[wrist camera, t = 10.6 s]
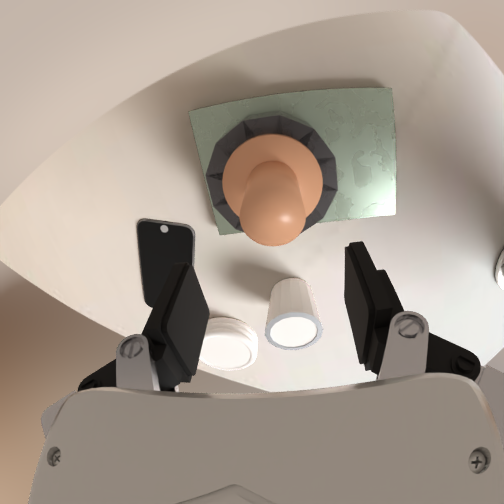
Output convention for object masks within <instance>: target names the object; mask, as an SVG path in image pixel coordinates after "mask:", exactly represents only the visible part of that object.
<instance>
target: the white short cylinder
mask: <svg viewBox="0 0 504 504" xmlns="http://www.w3.org/2000/svg"><path fill="white" fill-rule="evenodd" d="M257 349H258V338H257V335H256V333H255V331H254V330H253V329H252V328H251V327H250V326H249V325H247V324H246V323H244V322H242V321H239V320H236V319H233V318H226V317H217V318H211V319H208V323H207V327H206V332H205V336H204V340H203V344H202V348H201V353H200V357H199V360H200V361H202V362H203V363H204V364H206V365H208V366H210V367H213V368H216V369H220V370H239V369H243V368H245V367H248V366H249V365H251V364H252V363H253V362H254V361H255V359H256V357H257Z"/></svg>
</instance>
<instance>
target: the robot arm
mask: <svg viewBox="0 0 504 504" xmlns="http://www.w3.org/2000/svg"><path fill="white" fill-rule="evenodd" d="M495 278H496V282H497V284H498V285H499V287H500V288H501V289H503V290H504V249H503V251H502V253H501V255H500V257H499V260H498V263H497V266H496V272H495ZM344 298H345V304H346V308H347V312H348V316H349V320H350V324H351V328H352V333H353V337H354V341H355V346H356V350H357V354H358V359H359V363H360V364H364V366H365V370H366V371H368V370H371V371H372V372H373V373H375V374H377V378H376V381H371V382H365V383H358V384H351V385H344V386H337V387H329V388H320V389H311V390H300V391H287V392H270V393H240V394H217V393H215V394H214V393H184V392H179V389H178V384H180V382H190V381H191V377H192V375H193V376H194V375H195V374H196V370H197V365H198V361H199V357H200V353H201V348H202V344H203V340H204V336H205V332H206V327H207V323H208V319H209V308H208V306H207V303H206V300H205V298H204V295H203V292H202V290H201V287H200V284H199V282H198V279H197V276H196V273H195V270H194V268H193V266H192V265H189V264H188V262H182V263H175V264H174V265H173V267H172V269H171V272H170V274H169V276H168V278H167V280H166V282H165V284H164V286H163V288H162V291H161V293H160V295H159V296H158V298H157V300H156V303H155V305H154V307H153V309H152V312H151V314H150V316H149V318H148V321H147V323H146V325H145V327H144V330H143V332H142V334H134V335H130V336H128V337H126V338H125V339H123V340H122V341H121V343H120V344H119V345H118V347H117V350H116V359H115V360H113V361H112V362H110V363H108V364H107V365H105V366H104V367H102V368H100V369H99V370H97V371H96V372H94V373H92V374H91V375H89V376H88V377H86V378H85V379H84V380H83V381H82V382H81V383H80V385H79V387H78V392H75V391H73V392H71V393H70V394H68V395H67V396H65V397H64V398H62V399H60V400H59V401H57V402H56V403H54V404H53V405H51V406H49V407H48V408H47V409H46V410H45V411H44V412H43V414H42V417H41V423H42V427H43V431H44V435H45V438H46V441H45V443H44V446H43V450H42V452H41V455H40V459H39V462H38V466H37V468H36V472H35V475H34V479H33V483H32V488H31V492H30V497H29V503H28V504H504V373H502V372H500V371H498V370H496V369H494V368H492V367H490V366H488V365H486V366H485V367H483V366H481V365H480V361H479V359H478V358H477V356H476V355H475V354H474V353H472V352H470V351H468V350H466V349H464V348H462V347H460V346H458V345H455V344H453V343H451V342H449V341H447V340H445V339H442V338H440V337H438V336H436V335H434V334H432V333H429V326H428V322H427V321H426V319H425V318H424V317H423V316H422V315H420V314H418V313H416V312H412V311H404V309H403V307H402V305H401V303H400V300H399V298H398V296H397V294H396V292H395V289H394V287H393V285H392V283H391V281H390V279H389V277H388V275H387V273H386V271H385V270H384V269H383V270H376V268H375V266H374V263H373V261H372V259H371V257H370V255H369V253H368V251H367V249H366V247H365V245H364V243H363V241H360V242H352V243H349V246H348V247H345V290H344Z"/></svg>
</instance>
